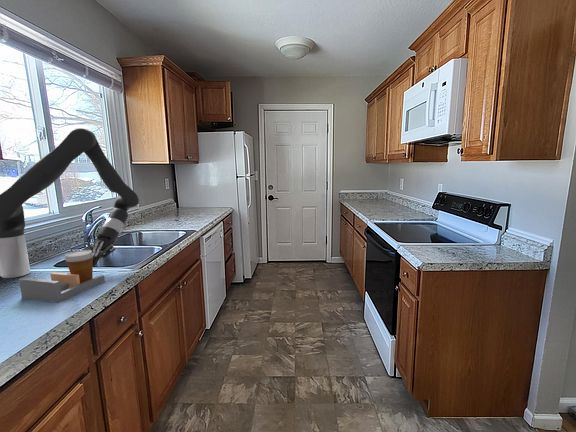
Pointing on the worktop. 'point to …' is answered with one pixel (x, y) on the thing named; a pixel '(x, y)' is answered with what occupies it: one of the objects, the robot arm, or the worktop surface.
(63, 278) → the pusher plate
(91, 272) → the disposable coffee cup
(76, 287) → the grey shallow tray
